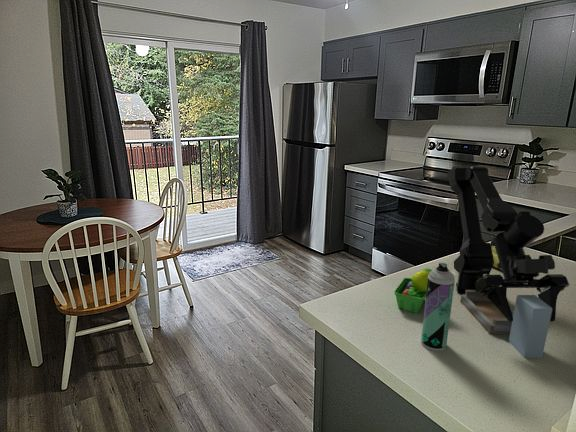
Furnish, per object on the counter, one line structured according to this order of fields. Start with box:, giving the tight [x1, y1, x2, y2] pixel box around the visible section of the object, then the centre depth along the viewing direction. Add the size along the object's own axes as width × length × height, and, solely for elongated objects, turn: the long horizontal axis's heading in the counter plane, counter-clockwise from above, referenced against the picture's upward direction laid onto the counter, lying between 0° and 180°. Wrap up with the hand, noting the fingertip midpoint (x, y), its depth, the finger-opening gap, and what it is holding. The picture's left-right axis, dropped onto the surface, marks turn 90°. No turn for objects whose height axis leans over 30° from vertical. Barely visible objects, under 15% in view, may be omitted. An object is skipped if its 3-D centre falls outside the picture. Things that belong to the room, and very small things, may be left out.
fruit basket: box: [393, 267, 432, 314], centre depth 105 cm, size 11×9×11 cm
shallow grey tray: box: [460, 290, 515, 335], centre depth 100 cm, size 16×10×4 cm, turn 0°
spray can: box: [420, 262, 456, 352], centre depth 86 cm, size 6×6×20 cm
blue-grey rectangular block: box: [508, 294, 553, 359], centre depth 85 cm, size 6×4×12 cm, turn 0°
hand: (532, 321), depth 84 cm, fingers open, 9 cm apart
